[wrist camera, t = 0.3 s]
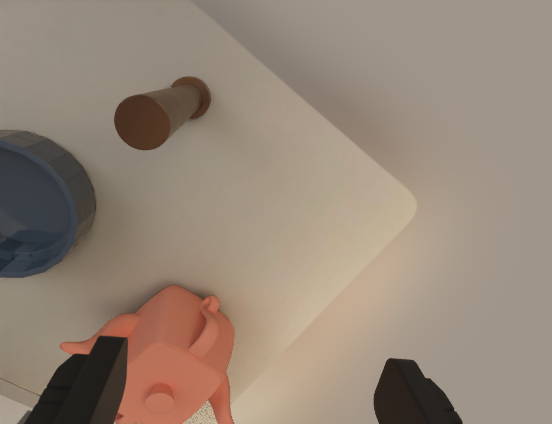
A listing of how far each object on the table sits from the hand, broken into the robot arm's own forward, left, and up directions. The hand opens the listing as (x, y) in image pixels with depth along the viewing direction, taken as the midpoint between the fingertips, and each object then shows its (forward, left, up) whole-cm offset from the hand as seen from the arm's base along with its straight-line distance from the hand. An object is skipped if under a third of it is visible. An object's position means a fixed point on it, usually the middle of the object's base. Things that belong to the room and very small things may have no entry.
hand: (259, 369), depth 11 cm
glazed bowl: (-9, -22, -32) cm, 39 cm away
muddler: (-8, -1, -32) cm, 33 cm away
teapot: (+14, -19, -32) cm, 40 cm away
